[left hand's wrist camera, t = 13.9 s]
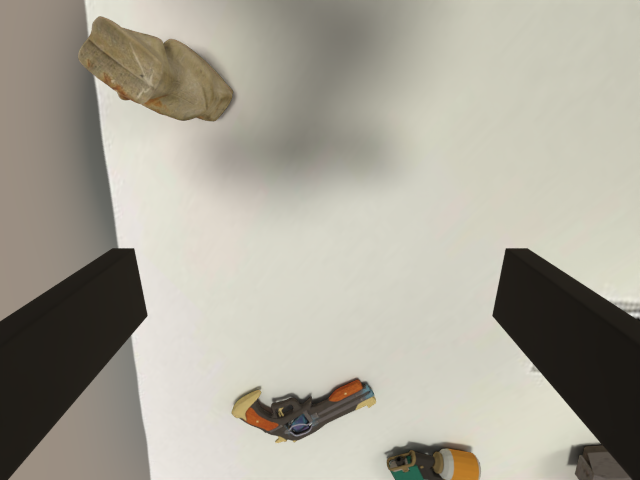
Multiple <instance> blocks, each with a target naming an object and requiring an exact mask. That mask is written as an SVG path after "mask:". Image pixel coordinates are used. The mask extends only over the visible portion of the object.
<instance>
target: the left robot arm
mask: <svg viewBox="0 0 640 480" xmlns="http://www.w3.org/2000/svg"><path fill="white" fill-rule="evenodd" d="M147 316H148V315H147V310H146V305H145V300H144V295H143V290H142V285H141V280H140V275H139V270H138V265H137V260H136V255H135V250H134V248H113V249H111V250H109V251H108V252H106V253H105V254H103V255H102V256H100V257H99V258H97V259H96V260H94V261H92V262H91V263H89V264H88V265H86V266H85V267H83V268H82V269H80V270H79V271H77V272H75V273H74V274H72V275H71V276H69V277H68V278H66V279H65V280H63V281H62V282H60V283H59V284H57V285H55V286H54V287H52V288H51V289H49V290H48V291H46V292H45V293H43V294H42V295H40V296H39V297H37V298H36V299H34V300H33V301H31V302H29V303H28V304H26V305H25V306H23V307H22V308H20V309H19V310H17V311H15V312H14V313H12V314H11V315H9V316H8V317H6V318H5V319H3V320H2V321H0V480H8V479H9V478H10V477H11V476H12V474H13V473H14V472H15V471H16V470H17V468H18V467H19V466H20V465H21V464H22V463H23V461H24V460H25V459H26V458H27V457H28V456H29V454H30V453H31V452H32V451H33V450H34V449H35V447H36V446H37V445H38V444H39V443H40V441H41V440H42V439H43V438H44V437H45V436H46V434H47V433H48V432H49V431H50V430H51V429H52V427H53V426H54V425H55V424H56V423H57V422H58V420H59V419H60V418H61V417H62V416H63V415H64V413H65V412H66V411H67V410H68V409H69V407H70V406H71V405H72V404H73V403H74V402H75V400H76V399H77V398H78V397H79V396H80V395H81V393H82V392H83V391H84V390H85V389H86V387H87V386H88V385H89V384H90V383H91V382H92V380H93V379H94V378H95V377H96V376H97V375H98V373H99V372H100V371H101V370H102V369H103V368H104V366H105V365H106V364H107V363H108V362H109V360H110V359H111V358H112V357H113V356H114V355H115V353H116V352H117V351H118V350H119V349H120V348H121V346H122V345H123V344H124V343H125V342H126V341H127V339H128V338H129V337H130V336H131V335H132V334H133V332H134V331H135V330H136V329H137V328H138V327H139V325H140V324H141V323H142V322H143V321H144V319H145V318H146V317H147ZM492 316H493V317H494V318H495V319H496V321H497V322H498V323H499V324H500V325H501V327H502V328H503V329H504V330H505V331H506V332H507V334H508V335H509V336H510V337H511V338H512V339H513V341H514V342H515V343H516V344H517V345H518V346H519V348H520V349H521V350H522V351H523V352H524V354H525V355H526V356H527V357H528V358H529V359H530V361H531V362H532V363H533V364H534V365H535V366H536V368H537V369H538V370H539V371H540V372H541V373H542V375H543V376H544V377H545V378H546V379H547V380H548V382H549V383H550V384H551V385H552V386H553V388H554V389H555V390H556V391H557V392H558V393H559V395H560V396H561V397H562V398H563V399H564V400H565V402H566V403H567V404H568V405H569V406H570V407H571V409H572V410H573V411H574V412H575V413H576V415H577V416H578V417H579V418H580V419H581V420H582V422H583V423H584V424H585V425H586V426H587V427H588V429H589V430H590V431H591V432H592V433H593V434H594V436H595V437H596V438H597V439H598V440H599V441H600V443H601V444H602V445H603V446H604V447H605V449H606V450H607V451H608V452H609V453H610V454H611V456H612V457H613V458H614V459H615V460H616V461H617V463H618V464H619V465H620V466H621V467H622V468H623V470H624V471H625V472H626V473H627V474H628V476H629V477H630V478H631V479H632V480H640V321H638V320H637V319H635V318H634V317H632V316H631V315H629V314H628V313H626V312H625V311H623V310H621V309H620V308H618V307H617V306H615V305H614V304H612V303H611V302H609V301H608V300H606V299H605V298H603V297H601V296H600V295H598V294H597V293H595V292H594V291H592V290H591V289H589V288H588V287H586V286H585V285H583V284H581V283H580V282H578V281H577V280H575V279H574V278H572V277H571V276H569V275H568V274H566V273H565V272H563V271H561V270H560V269H558V268H557V267H555V266H554V265H552V264H551V263H549V262H548V261H546V260H545V259H543V258H541V257H540V256H538V255H537V254H535V253H534V252H532V251H531V250H529V249H528V248H506V250H505V255H504V260H503V265H502V270H501V275H500V280H499V285H498V290H497V295H496V300H495V305H494V310H493V315H492Z"/></svg>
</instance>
